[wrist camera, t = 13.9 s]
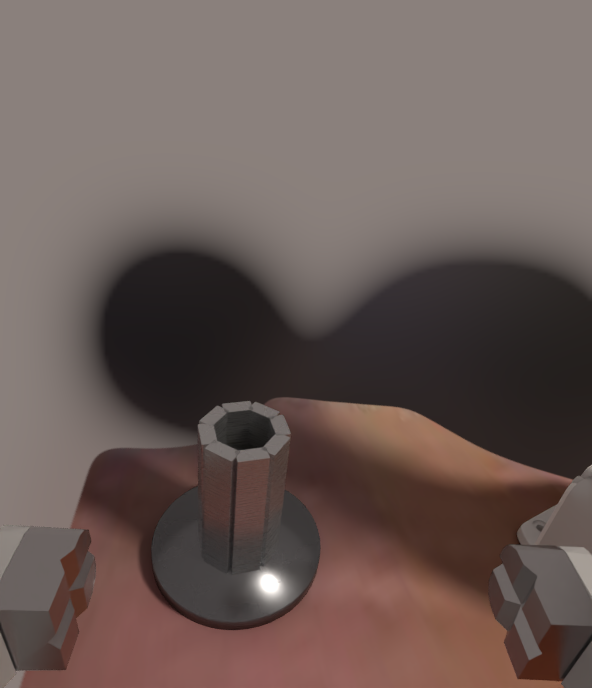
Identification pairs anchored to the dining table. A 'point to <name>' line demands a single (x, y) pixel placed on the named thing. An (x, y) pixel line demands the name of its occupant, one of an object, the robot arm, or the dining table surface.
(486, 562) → the dining table surface
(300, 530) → the grey pot lid
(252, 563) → the octagonal pipe segment
